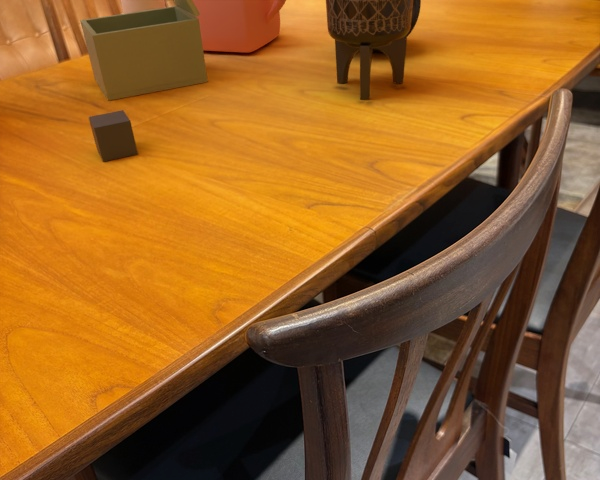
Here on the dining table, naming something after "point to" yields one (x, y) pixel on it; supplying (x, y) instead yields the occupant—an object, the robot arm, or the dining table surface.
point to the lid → (188, 6)
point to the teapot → (238, 23)
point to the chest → (145, 51)
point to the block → (113, 135)
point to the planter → (369, 35)
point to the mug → (141, 5)
